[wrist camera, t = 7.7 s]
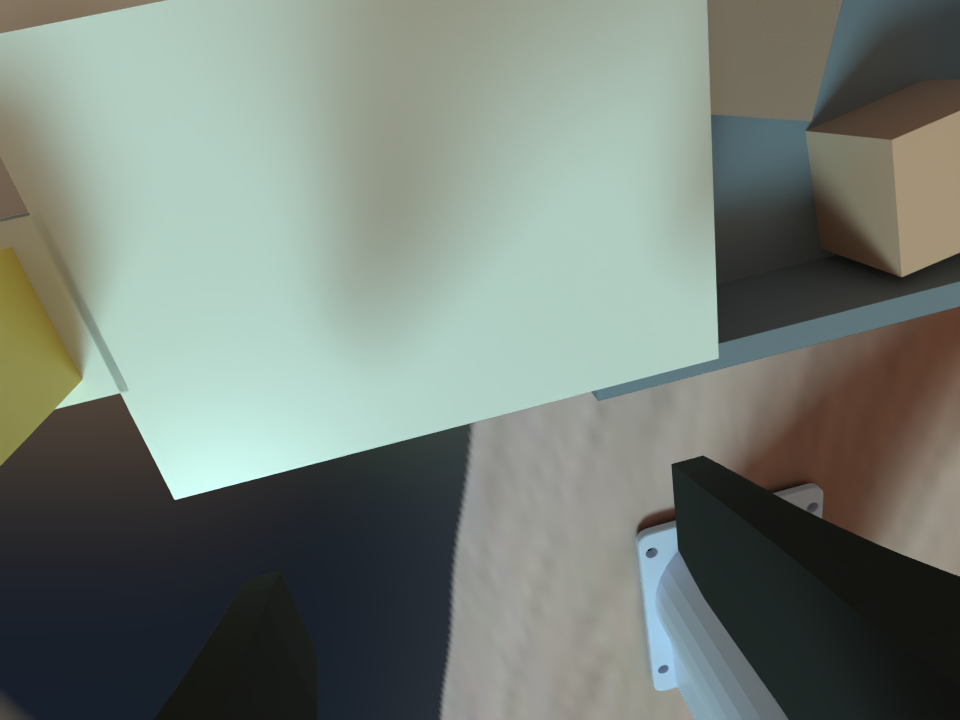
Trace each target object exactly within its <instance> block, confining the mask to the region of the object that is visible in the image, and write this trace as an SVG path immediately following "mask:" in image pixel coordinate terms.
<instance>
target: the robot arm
mask: <svg viewBox="0 0 960 720" xmlns="http://www.w3.org/2000/svg"><path fill="white" fill-rule="evenodd" d="M672 478H673V491H674V504H675V518H676V520H675V521H671V522H668V523H664V524H661V525H657V526H653V527H650V528H646V529H644V530H642V531H641V532H640V533H639V534H638V535H637V537H636V548H637V557H638V566H639V575H640V583H641V592H642V601H643V610H644V619H645V628H646V637H647V646H648V655H649V663H650V672H651V681H652V683H653V685H654V687H655V689H657V690H659V691H665V690H669V689H672V688H675V687H678V689H679V691H680V693H681V695H682V697H683V699H684V701H685V703H686V705H687V707H688V709H689V710H690V712H691V714H692V716H693V718H694V720H960V576H957V575H954V574H951V573H948V572H946V571H943V570H940V569H938V568H935V567H933V566H930V565H928V564H925V563H922V562H920V561H917V560H915V559H912V558H909V557H907V556H904V555H902V554H899V553H897V552H894V551H892V550H890V549H887V548H885V547H882V546H880V545H878V544H875V543H873V542H871V541H869V540H867V539H864V538H862V537H860V536H858V535H856V534H853V533H851V532H849V531H847V530H845V529H842V528H840V527H838V526H836V525H834V524H832V523H830V522H828V521H826V520H824V519H822V513H823V491H822V489H821V488H819V487H818V486H817V485H816V484H814V483H808V484H804V485H801V486H797V487H794V488H790V489H786V490H783V491H779V492H776V493H771V492H769V491H767V490H765V489H764V488H762V487H760V486H758V485H756V484H754V483H753V482H751V481H749V480H747V479H745V478H744V477H742V476H740V475H738V474H736V473H734V472H733V471H731V470H729V469H727V468H725V467H724V466H722V465H720V464H718V463H716V462H714V461H712V460H711V459H709V458H707V457H705V456H700V457H696V458H693V459H689V460H685V461H682V462H678V463H674V464H672ZM809 504H810V505H809ZM650 548H653V549H652V550H650V551H647V550H648V549H650ZM316 654H317V653H316V649H315V647H314V645H313V642H312V640H311V638H310V635H309V633H308V631H307V629H306V626H305V624H304V622H303V620H302V617H301V615H300V613H299V611H298V608H297V606H296V604H295V602H294V600H293V597H292V595H291V593H290V590H289V588H288V586H287V584H286V581H285V579H284V577H283V575H282V573H281V570H280V571H276V572H272V573H269V574H265V575H261V576H258V577H254V578H250V579H246V580H245V582H244V583H243V585H242V587H241V588H240V590H239V591H238V593H237V594H236V596H235V597H234V599H233V600H232V602H231V604H230V605H229V607H228V608H227V610H226V611H225V613H224V615H223V616H222V618H221V619H220V621H219V623H218V624H217V626H216V627H215V629H214V630H213V632H212V634H211V635H210V637H209V638H208V640H207V641H206V643H205V645H204V646H203V648H202V649H201V651H200V652H199V654H198V656H197V657H196V659H195V660H194V662H193V663H192V665H191V666H190V668H189V669H188V671H187V672H186V674H185V675H184V677H183V679H182V680H181V681H180V683H179V684H178V686H177V688H176V689H175V691H174V692H173V693H172V695H171V696H170V698H169V699H168V701H167V702H166V704H165V705H164V706H163V708H162V709H161V711H160V712H159V713H158V715H157V716H156V717H155V719H154V720H316V718H317V657H316V656H317V655H316Z"/></svg>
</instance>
